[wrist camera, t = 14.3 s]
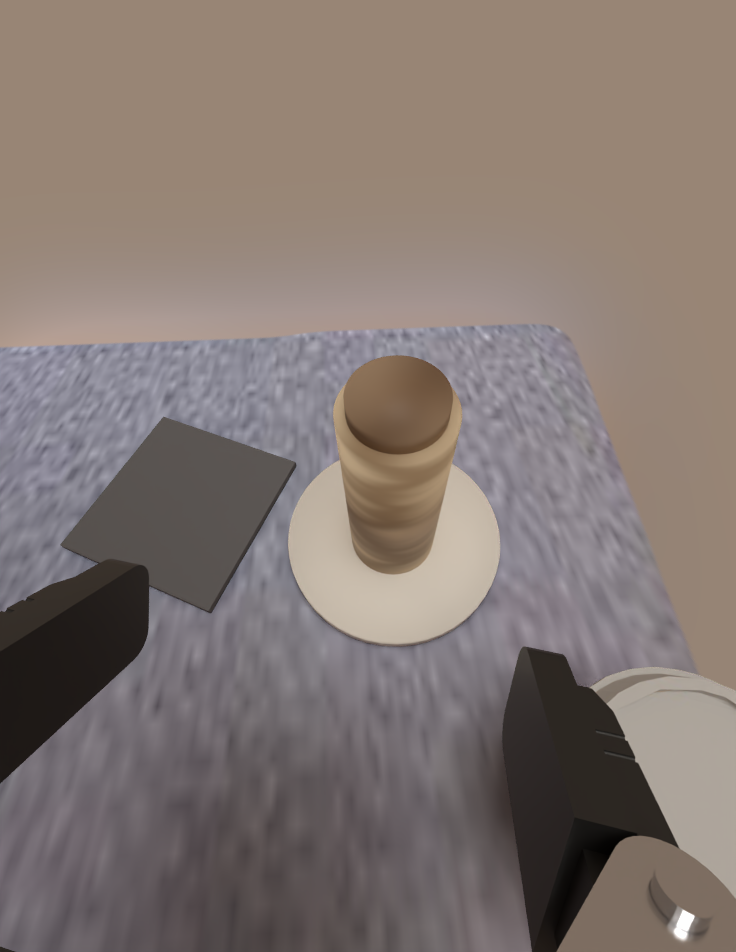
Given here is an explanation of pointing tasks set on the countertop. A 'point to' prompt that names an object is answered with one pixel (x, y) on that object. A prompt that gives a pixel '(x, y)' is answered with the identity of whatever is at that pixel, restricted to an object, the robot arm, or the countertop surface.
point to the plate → (401, 595)
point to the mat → (183, 510)
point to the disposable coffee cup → (684, 755)
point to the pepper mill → (395, 458)
